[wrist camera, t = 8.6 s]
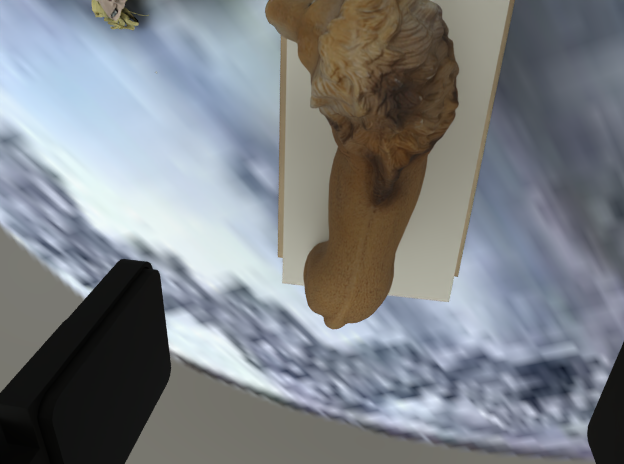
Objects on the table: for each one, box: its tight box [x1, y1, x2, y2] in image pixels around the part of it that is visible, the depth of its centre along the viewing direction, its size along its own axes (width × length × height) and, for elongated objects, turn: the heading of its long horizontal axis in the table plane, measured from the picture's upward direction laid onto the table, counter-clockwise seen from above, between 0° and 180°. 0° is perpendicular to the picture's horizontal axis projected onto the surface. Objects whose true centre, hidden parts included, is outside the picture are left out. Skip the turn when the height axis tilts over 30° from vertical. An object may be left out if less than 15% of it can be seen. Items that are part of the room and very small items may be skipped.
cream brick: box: [282, 0, 510, 302], centre depth 24 cm, size 8×14×4 cm, turn 178°
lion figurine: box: [265, 0, 459, 329], centre depth 18 cm, size 15×5×9 cm, turn 1°
